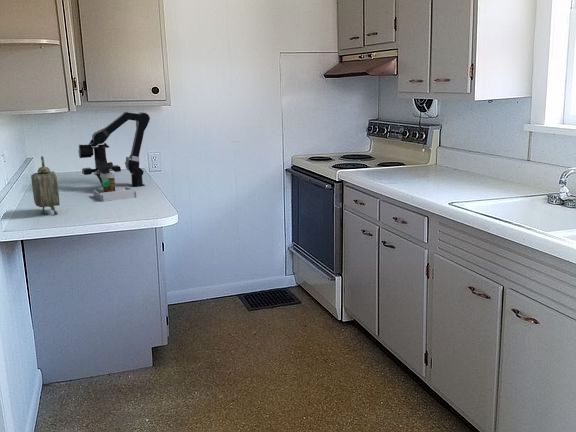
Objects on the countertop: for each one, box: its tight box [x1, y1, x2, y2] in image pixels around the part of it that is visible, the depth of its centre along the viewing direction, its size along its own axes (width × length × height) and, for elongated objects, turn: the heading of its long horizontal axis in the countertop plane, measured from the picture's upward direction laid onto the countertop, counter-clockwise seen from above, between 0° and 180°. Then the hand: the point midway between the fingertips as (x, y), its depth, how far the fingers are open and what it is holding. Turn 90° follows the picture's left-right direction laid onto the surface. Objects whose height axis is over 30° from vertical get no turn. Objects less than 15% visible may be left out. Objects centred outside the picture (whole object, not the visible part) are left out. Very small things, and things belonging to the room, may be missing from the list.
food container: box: [100, 171, 116, 193], centre depth 294 cm, size 12×6×10 cm, turn 27°
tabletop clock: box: [30, 155, 61, 216], centre depth 248 cm, size 14×9×25 cm, turn 28°
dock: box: [92, 185, 137, 202], centre depth 283 cm, size 15×17×4 cm
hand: (103, 186), depth 302 cm, fingers closed
